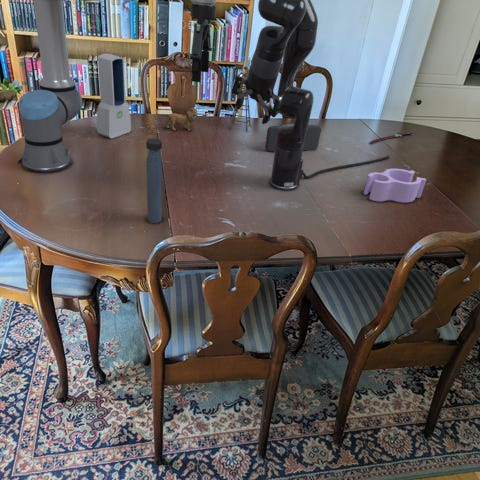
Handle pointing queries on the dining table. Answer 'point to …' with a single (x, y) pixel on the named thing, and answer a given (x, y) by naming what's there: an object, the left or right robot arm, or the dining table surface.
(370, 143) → the sword
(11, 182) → the dining table surface
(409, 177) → the clip
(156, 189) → the bottle
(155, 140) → the cap
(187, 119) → the lion figurine
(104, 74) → the electronic device
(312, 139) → the handheld gaming console
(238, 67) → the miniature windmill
